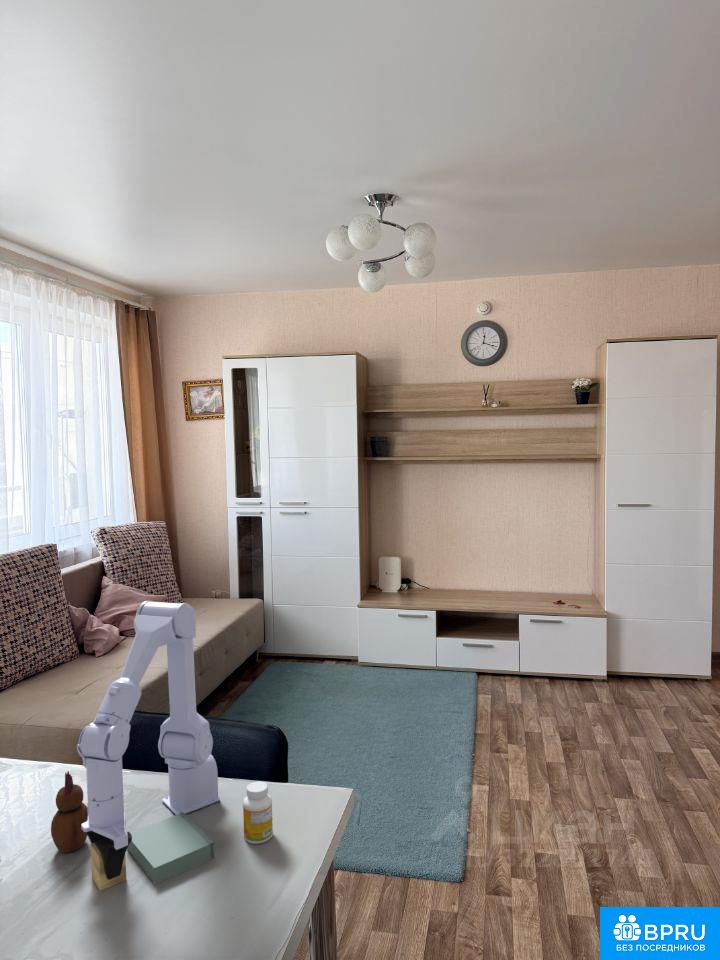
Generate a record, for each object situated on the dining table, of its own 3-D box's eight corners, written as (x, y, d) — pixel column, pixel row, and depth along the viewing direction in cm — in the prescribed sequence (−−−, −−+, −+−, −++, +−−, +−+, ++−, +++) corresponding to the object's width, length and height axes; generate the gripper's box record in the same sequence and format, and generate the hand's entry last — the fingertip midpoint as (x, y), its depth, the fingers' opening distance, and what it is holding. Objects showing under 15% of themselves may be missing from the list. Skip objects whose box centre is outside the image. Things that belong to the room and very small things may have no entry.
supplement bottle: (244, 829, 131) (243, 780, 130) (272, 827, 132) (271, 778, 131) (243, 846, 126) (241, 795, 125) (272, 843, 126) (271, 792, 126)
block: (117, 867, 120) (116, 834, 120) (126, 879, 117) (125, 845, 116) (91, 877, 117) (90, 844, 117) (100, 890, 114) (98, 856, 113)
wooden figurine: (74, 859, 122) (71, 778, 122) (46, 855, 124) (42, 775, 123) (96, 837, 129) (93, 760, 128) (69, 834, 130) (65, 758, 129)
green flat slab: (183, 827, 132) (182, 812, 132) (214, 858, 122) (213, 842, 122) (127, 850, 125) (126, 834, 125) (155, 885, 115) (154, 867, 115)
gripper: (68, 784, 119) (71, 859, 120) (95, 819, 108) (99, 901, 109) (108, 771, 123) (111, 843, 124) (139, 803, 112) (142, 882, 113)
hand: (108, 869), depth 117 cm, fingers closed on block, 4 cm apart
